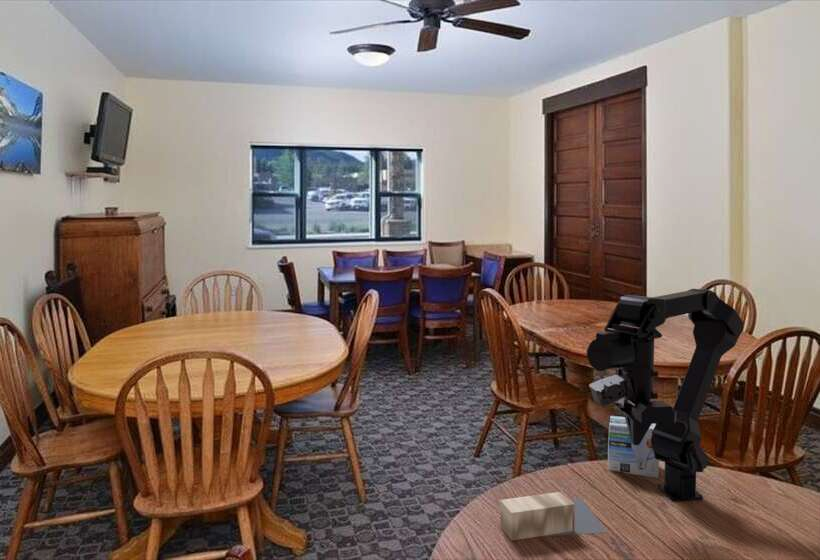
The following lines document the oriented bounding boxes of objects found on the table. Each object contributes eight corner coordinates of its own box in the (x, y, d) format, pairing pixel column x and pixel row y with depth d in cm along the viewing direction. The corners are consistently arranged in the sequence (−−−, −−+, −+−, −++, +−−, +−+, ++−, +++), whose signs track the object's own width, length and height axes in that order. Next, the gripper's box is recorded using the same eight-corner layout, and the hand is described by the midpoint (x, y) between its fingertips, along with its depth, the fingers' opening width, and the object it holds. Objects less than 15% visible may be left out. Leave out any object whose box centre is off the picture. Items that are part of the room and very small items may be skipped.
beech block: (561, 491, 111) (500, 499, 108) (574, 503, 106) (511, 512, 103) (560, 517, 111) (500, 526, 108) (574, 530, 106) (511, 540, 103)
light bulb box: (607, 472, 132) (608, 424, 130) (608, 460, 138) (609, 414, 137) (660, 478, 128) (661, 429, 127) (658, 465, 134) (659, 419, 133)
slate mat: (504, 504, 118) (504, 502, 117) (581, 500, 118) (581, 498, 118) (520, 539, 105) (520, 537, 105) (607, 534, 106) (607, 532, 106)
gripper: (577, 353, 120) (576, 429, 121) (615, 378, 101) (613, 466, 103) (631, 351, 121) (630, 426, 122) (679, 375, 102) (676, 463, 104)
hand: (635, 444), depth 113 cm, fingers closed
